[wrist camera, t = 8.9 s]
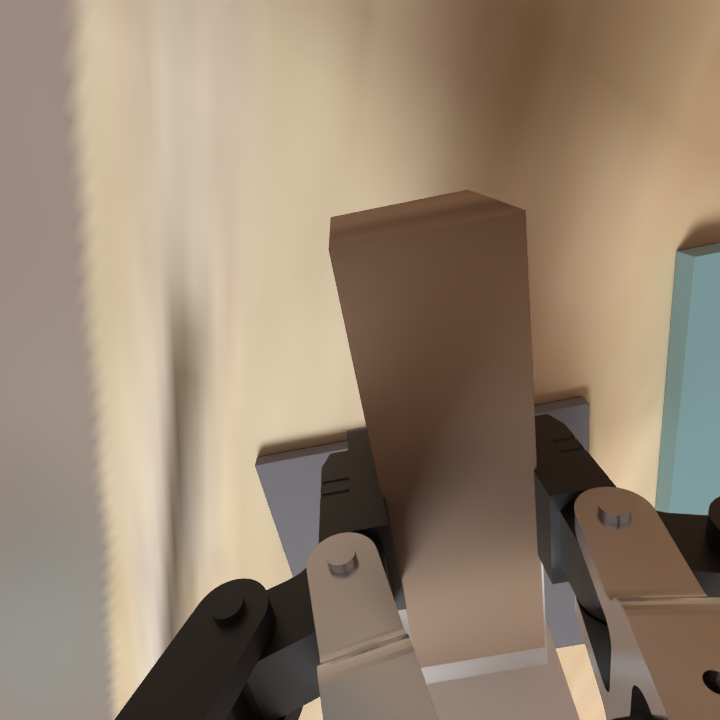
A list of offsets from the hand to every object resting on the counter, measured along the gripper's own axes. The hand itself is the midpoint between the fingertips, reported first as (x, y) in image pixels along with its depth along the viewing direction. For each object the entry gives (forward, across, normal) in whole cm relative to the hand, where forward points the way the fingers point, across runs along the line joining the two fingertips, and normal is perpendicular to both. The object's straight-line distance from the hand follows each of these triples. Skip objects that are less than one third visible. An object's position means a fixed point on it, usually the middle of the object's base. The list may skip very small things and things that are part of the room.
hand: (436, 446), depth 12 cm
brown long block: (+1, 0, +2) cm, 2 cm away
